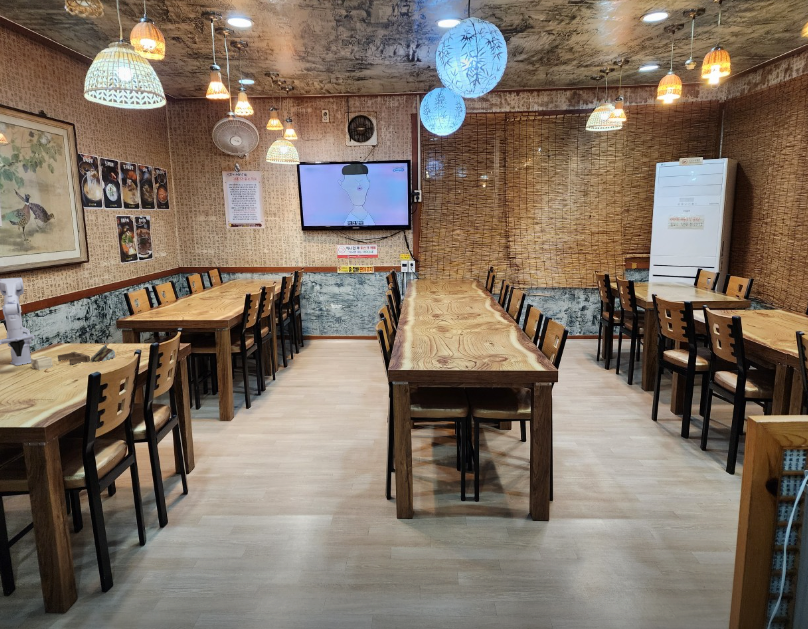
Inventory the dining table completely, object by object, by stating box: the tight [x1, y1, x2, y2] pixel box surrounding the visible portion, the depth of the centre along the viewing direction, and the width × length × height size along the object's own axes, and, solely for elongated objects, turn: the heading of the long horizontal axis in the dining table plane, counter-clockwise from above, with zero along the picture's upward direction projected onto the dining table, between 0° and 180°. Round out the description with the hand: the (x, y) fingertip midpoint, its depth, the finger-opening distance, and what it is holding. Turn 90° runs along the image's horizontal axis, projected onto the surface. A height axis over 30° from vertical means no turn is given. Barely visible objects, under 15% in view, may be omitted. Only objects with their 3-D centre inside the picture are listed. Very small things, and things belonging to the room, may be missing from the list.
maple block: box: [30, 355, 54, 371], centre depth 258 cm, size 8×6×5 cm
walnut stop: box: [57, 351, 91, 366], centre depth 270 cm, size 18×8×3 cm, turn 54°
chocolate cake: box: [90, 343, 116, 362], centre depth 273 cm, size 10×7×12 cm
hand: (19, 356), depth 250 cm, fingers closed
